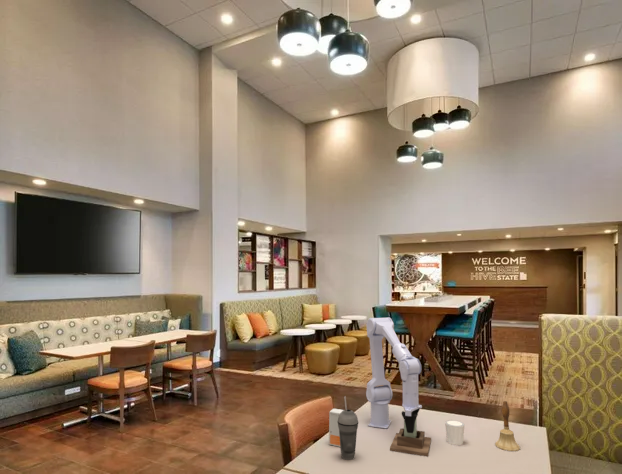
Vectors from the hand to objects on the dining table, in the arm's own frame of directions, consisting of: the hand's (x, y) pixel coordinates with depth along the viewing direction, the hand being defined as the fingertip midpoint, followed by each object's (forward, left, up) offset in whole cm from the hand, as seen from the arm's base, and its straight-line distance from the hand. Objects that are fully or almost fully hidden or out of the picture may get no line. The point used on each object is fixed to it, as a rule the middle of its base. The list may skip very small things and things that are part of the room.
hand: (411, 430), depth 153 cm
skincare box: (+9, -25, -6) cm, 27 cm away
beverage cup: (+18, -19, -6) cm, 27 cm away
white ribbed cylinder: (-9, +15, -6) cm, 18 cm away
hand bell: (-12, +33, -6) cm, 36 cm away
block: (0, 0, -2) cm, 2 cm away
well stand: (0, 0, -5) cm, 5 cm away
